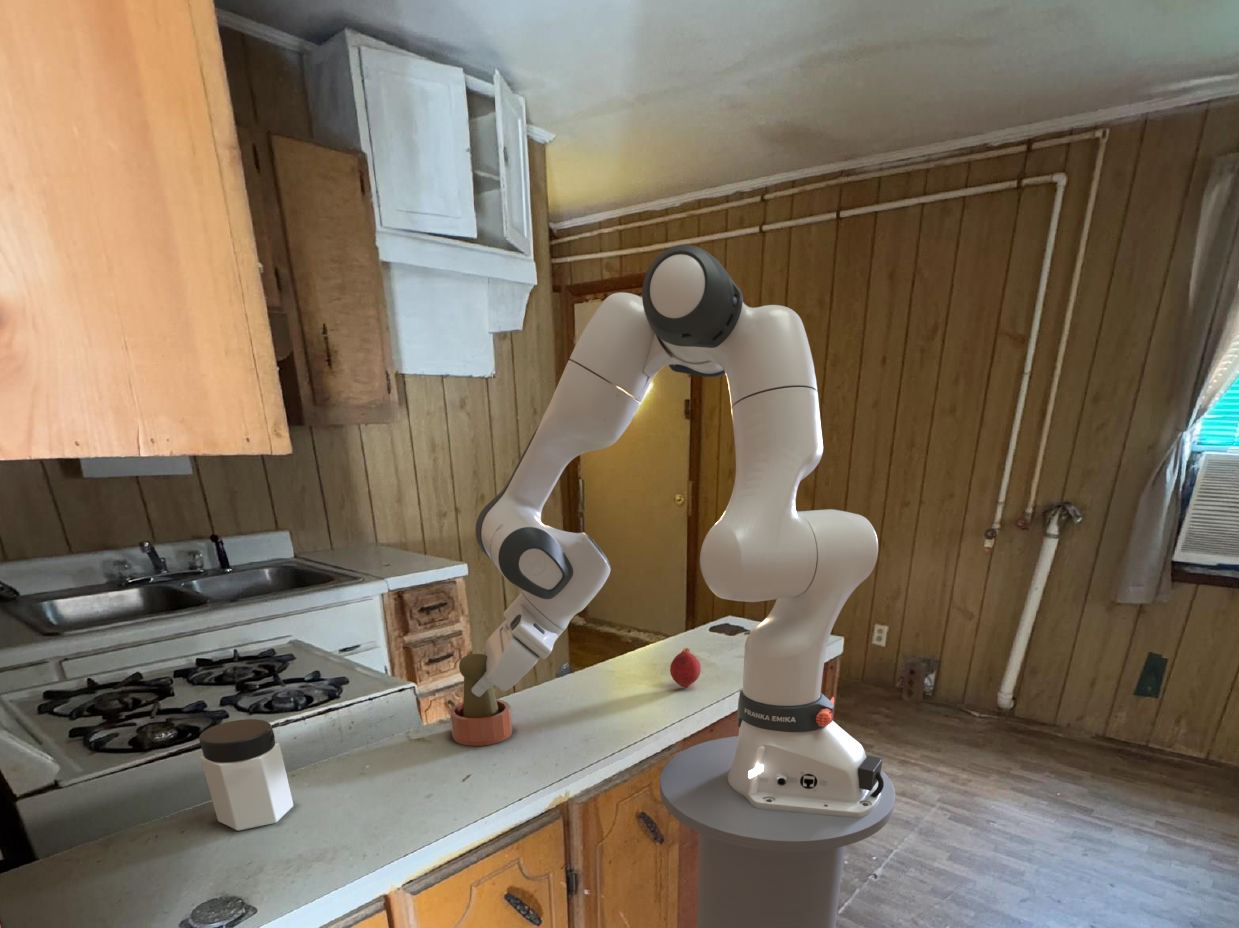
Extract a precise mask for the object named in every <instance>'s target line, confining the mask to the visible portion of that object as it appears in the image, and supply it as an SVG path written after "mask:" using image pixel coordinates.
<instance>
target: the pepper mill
mask: <svg viewBox="0 0 1239 928" xmlns="http://www.w3.org/2000/svg"><path fill="white" fill-rule="evenodd" d="M486 661H487V656H486V654H484V653H471V654H466V655H464V656H463V657H462V658H460V661H459V665H458V669H459V672H460V674H461V676H462V677H463V702H464V706H463V717H465V718H484V717H490V716H494V715H497V714H499V709H498V705H497V701H496V699H497V697H496V693H495V688H494V686H492V687H491V688H489V689H488V690H486V691H485V692H484V693H483V694H482V696H480V697H478V696H476V695H475V694H474V693H472V691H471V690H472V686H473V685H474V684H475V683H476V681H477V680H478V681H479V680H480V679H481V678H482V677H483V676H484V673H485V672H486V671H487V668H486Z"/></svg>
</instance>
